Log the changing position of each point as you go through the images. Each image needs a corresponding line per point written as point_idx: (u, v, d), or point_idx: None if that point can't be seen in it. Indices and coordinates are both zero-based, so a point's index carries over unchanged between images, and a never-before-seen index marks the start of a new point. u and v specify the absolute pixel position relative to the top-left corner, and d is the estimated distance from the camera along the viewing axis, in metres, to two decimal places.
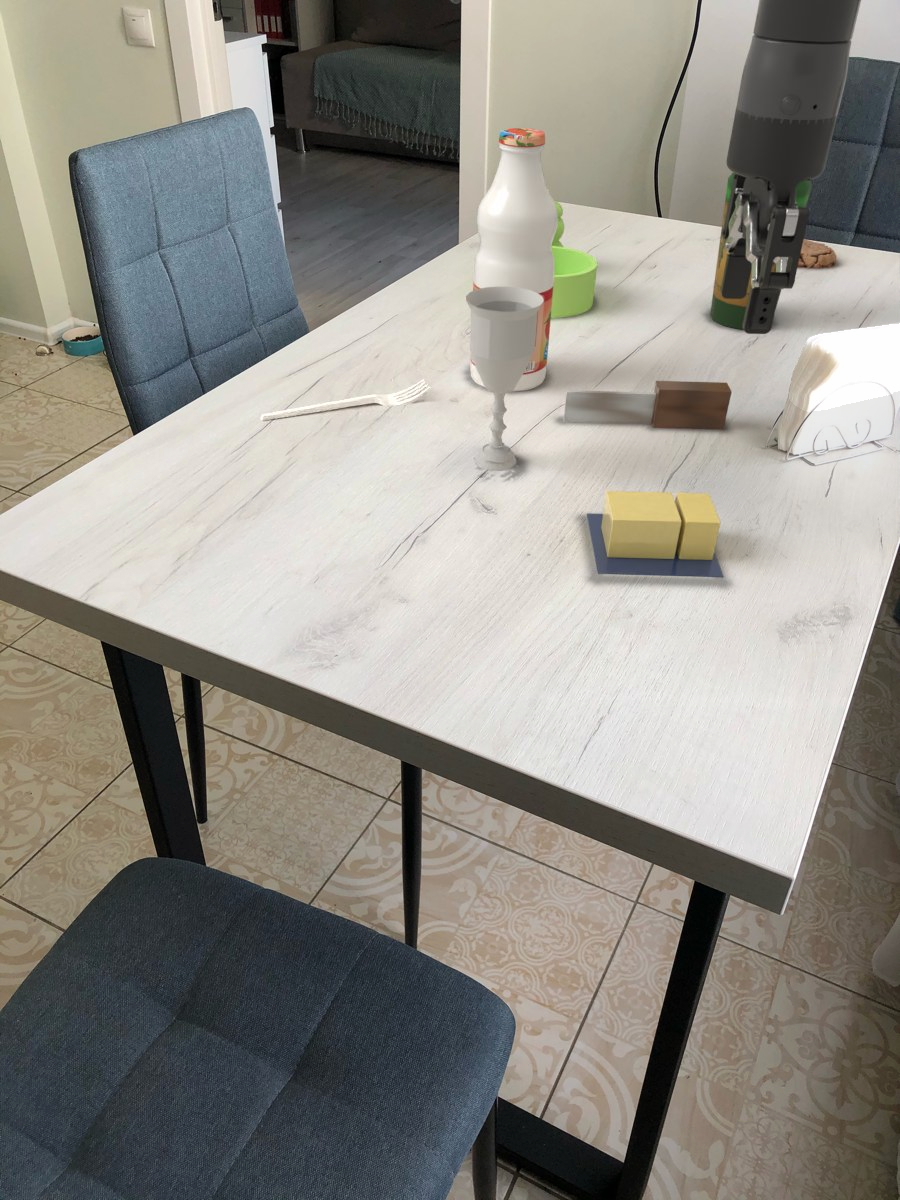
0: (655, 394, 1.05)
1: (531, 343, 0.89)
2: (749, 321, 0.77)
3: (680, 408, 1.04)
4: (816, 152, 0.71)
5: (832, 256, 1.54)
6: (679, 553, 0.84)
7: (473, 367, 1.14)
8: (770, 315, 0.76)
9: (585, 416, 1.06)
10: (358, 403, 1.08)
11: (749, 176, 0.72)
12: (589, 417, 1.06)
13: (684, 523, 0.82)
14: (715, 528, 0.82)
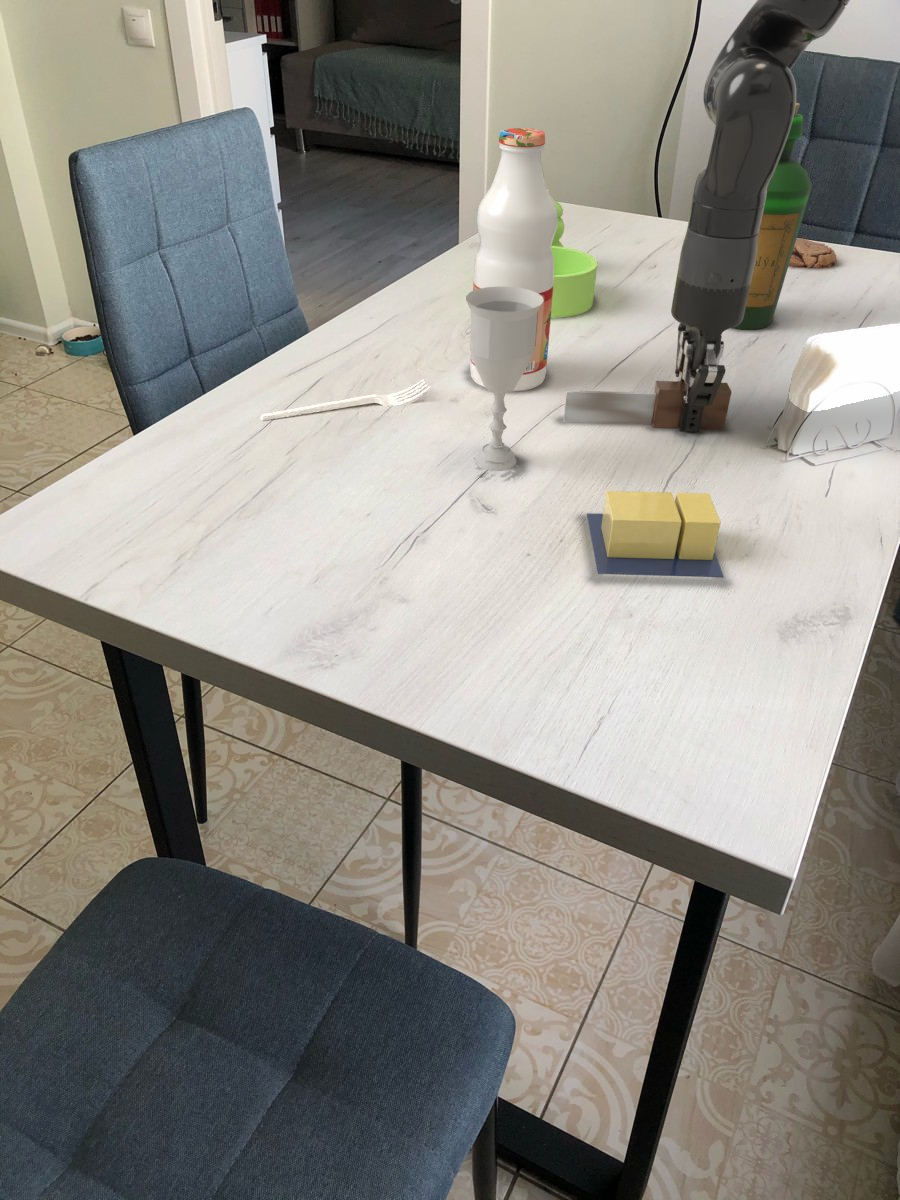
0: (655, 394, 1.05)
1: (531, 343, 0.89)
2: (682, 425, 1.05)
3: (680, 408, 1.04)
4: (735, 310, 0.96)
5: (832, 256, 1.54)
6: (679, 553, 0.84)
7: (473, 367, 1.14)
8: (697, 422, 1.04)
9: (585, 416, 1.06)
10: (358, 403, 1.08)
11: (686, 325, 0.97)
12: (589, 417, 1.06)
13: (684, 523, 0.82)
14: (715, 528, 0.82)
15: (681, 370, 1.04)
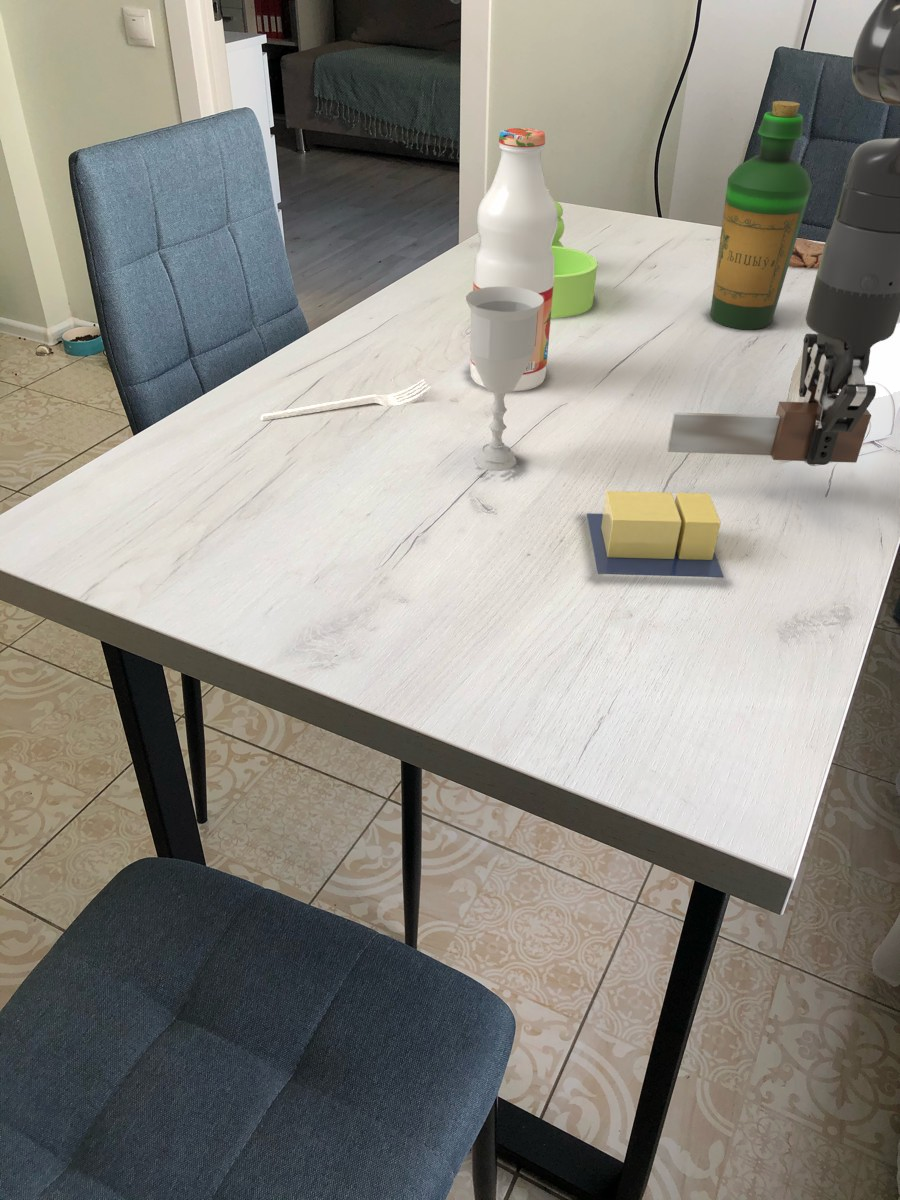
0: (779, 417, 0.89)
1: (531, 343, 0.89)
2: (811, 454, 0.89)
3: (808, 434, 0.88)
4: (889, 319, 0.80)
5: None
6: (679, 553, 0.84)
7: (473, 367, 1.14)
8: (830, 451, 0.88)
9: (694, 443, 0.90)
10: (358, 403, 1.08)
11: (828, 336, 0.81)
12: (699, 444, 0.90)
13: (684, 523, 0.82)
14: (715, 528, 0.82)
15: (811, 389, 0.88)
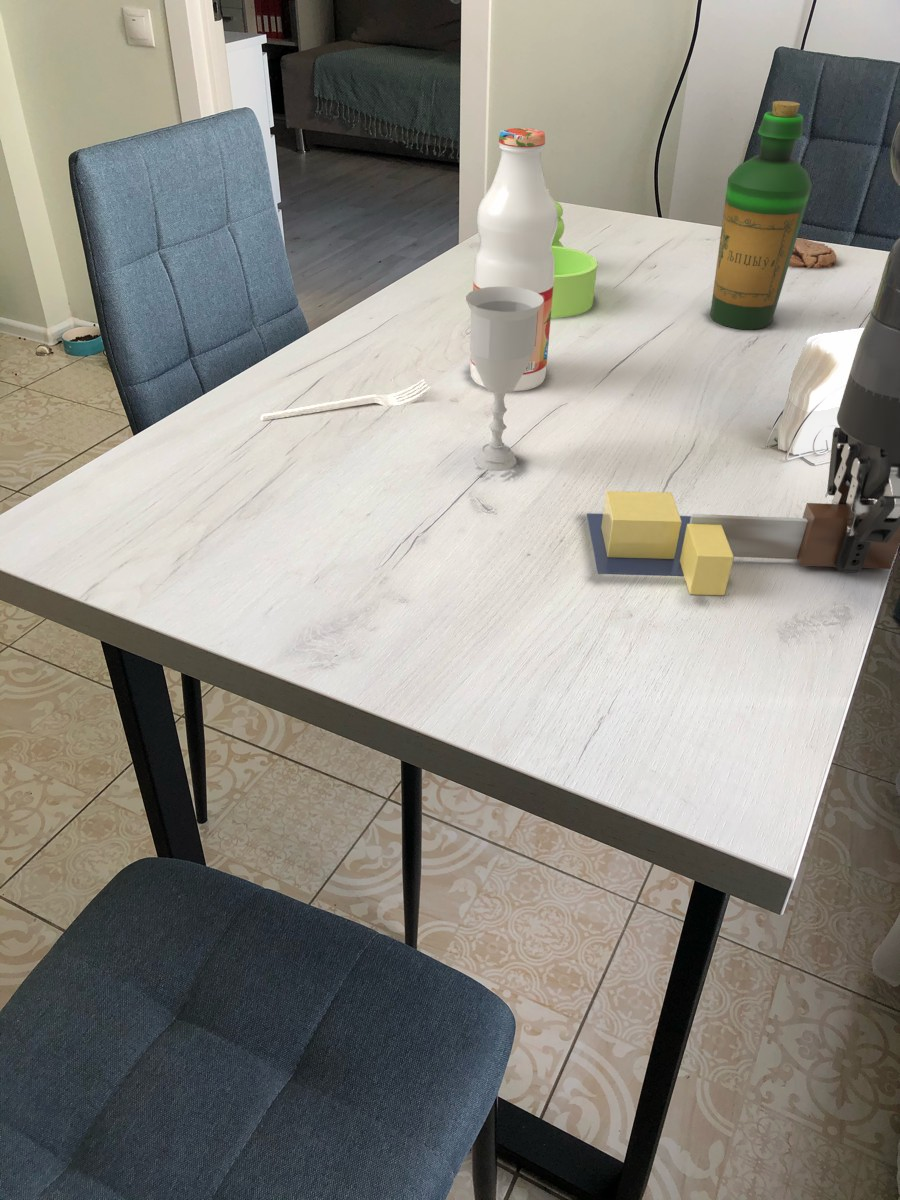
0: (807, 521, 0.81)
1: (531, 343, 0.89)
2: (841, 561, 0.81)
3: (839, 539, 0.81)
4: None
5: (832, 256, 1.54)
6: (690, 588, 0.79)
7: (473, 367, 1.14)
8: (862, 559, 0.80)
9: None
10: (358, 403, 1.08)
11: (863, 442, 0.74)
12: None
13: (695, 557, 0.78)
14: (728, 562, 0.78)
15: (841, 491, 0.80)
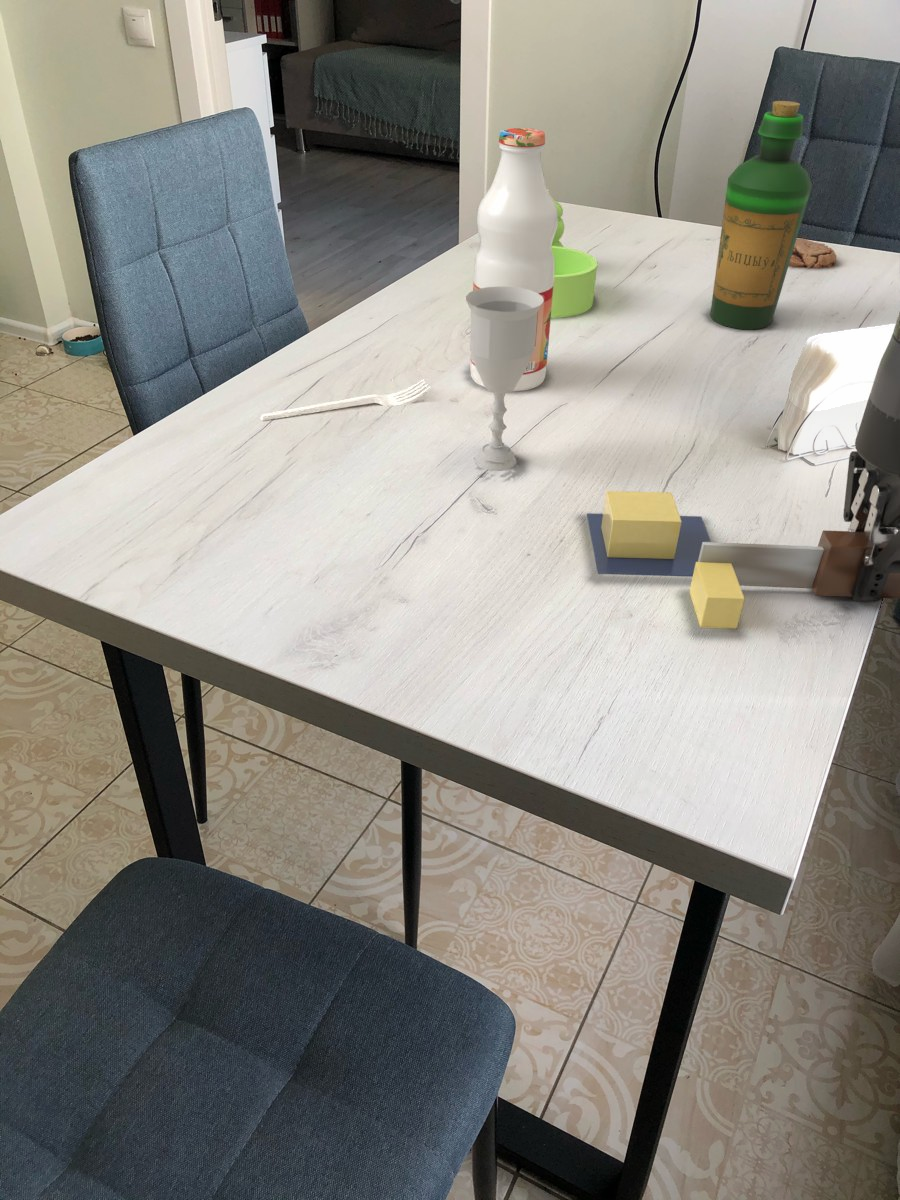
0: (823, 549, 0.77)
1: (531, 343, 0.89)
2: (858, 591, 0.78)
3: (856, 568, 0.77)
4: None
5: (832, 256, 1.54)
6: None
7: (473, 367, 1.14)
8: (881, 589, 0.77)
9: None
10: (358, 403, 1.08)
11: (883, 470, 0.70)
12: None
13: (704, 598, 0.75)
14: (738, 604, 0.75)
15: (858, 518, 0.77)
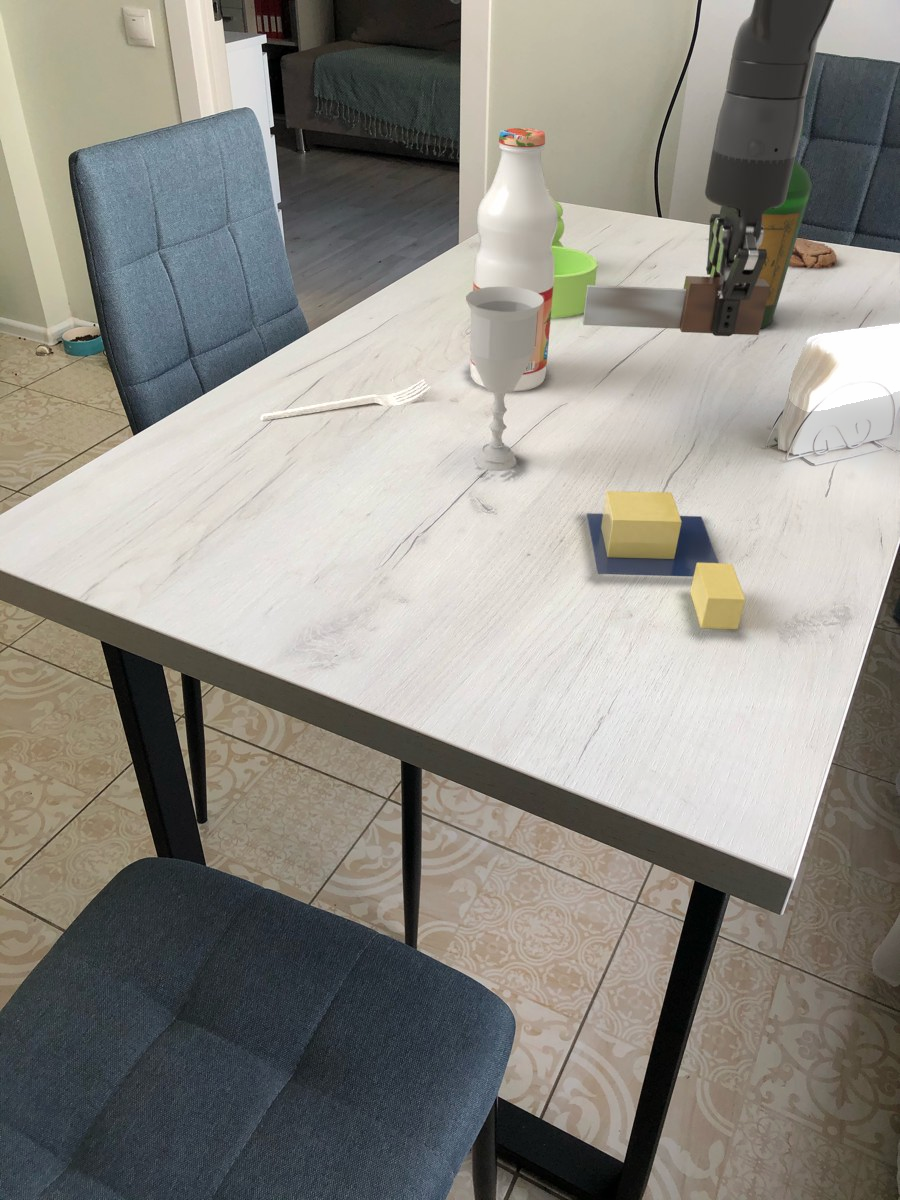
0: (685, 290, 0.95)
1: (531, 343, 0.89)
2: (716, 325, 0.95)
3: (712, 305, 0.95)
4: (778, 186, 0.86)
5: (832, 256, 1.54)
6: None
7: (473, 367, 1.14)
8: (733, 321, 0.94)
9: (607, 316, 0.96)
10: (358, 403, 1.08)
11: (723, 205, 0.88)
12: (612, 317, 0.96)
13: (705, 599, 0.75)
14: (739, 605, 0.75)
15: (714, 264, 0.94)
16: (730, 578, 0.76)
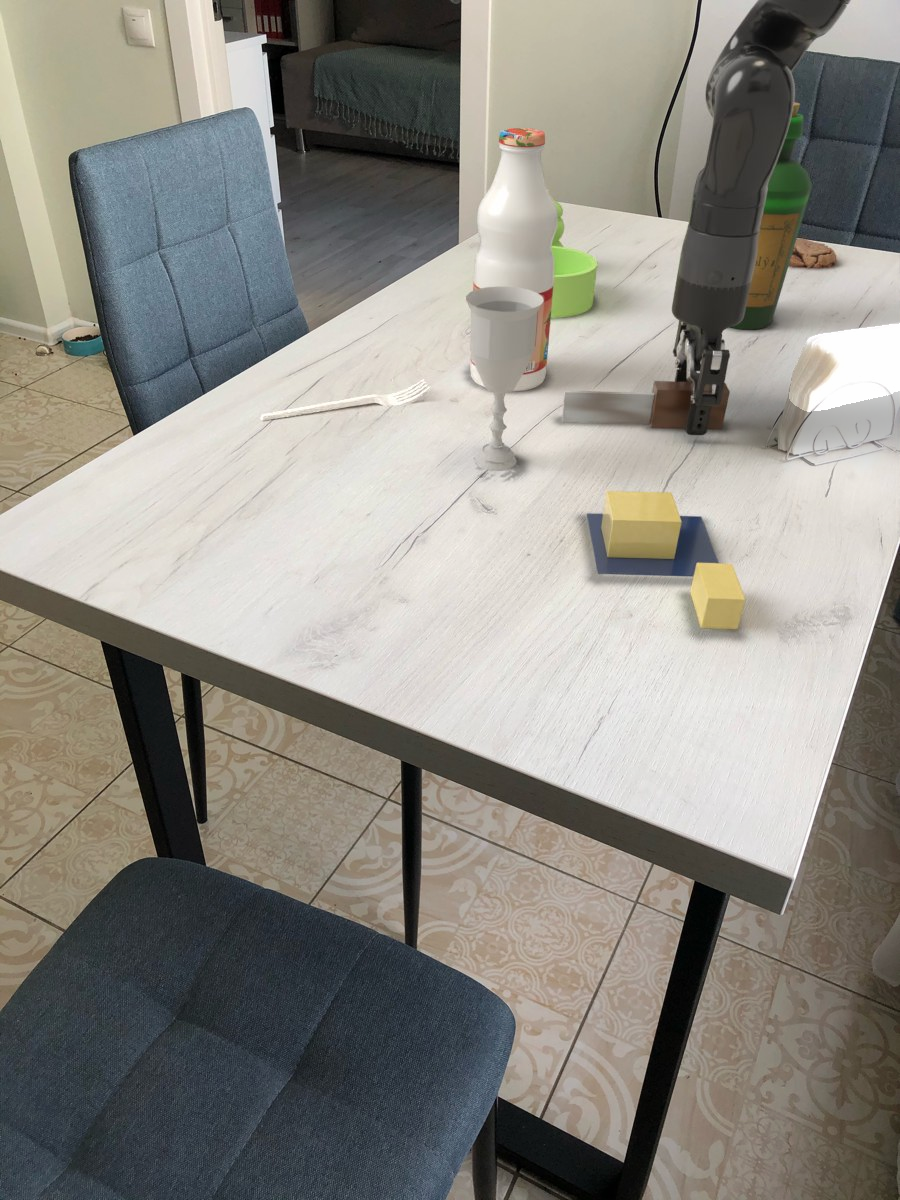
0: (653, 394, 1.05)
1: (531, 343, 0.89)
2: (690, 426, 1.02)
3: (678, 408, 1.04)
4: (736, 308, 0.96)
5: (832, 256, 1.54)
6: None
7: (473, 367, 1.14)
8: (705, 423, 1.01)
9: (583, 417, 1.06)
10: (358, 403, 1.08)
11: (687, 323, 0.97)
12: (587, 417, 1.06)
13: (705, 599, 0.75)
14: (739, 605, 0.75)
15: (679, 358, 1.05)
16: (730, 578, 0.76)
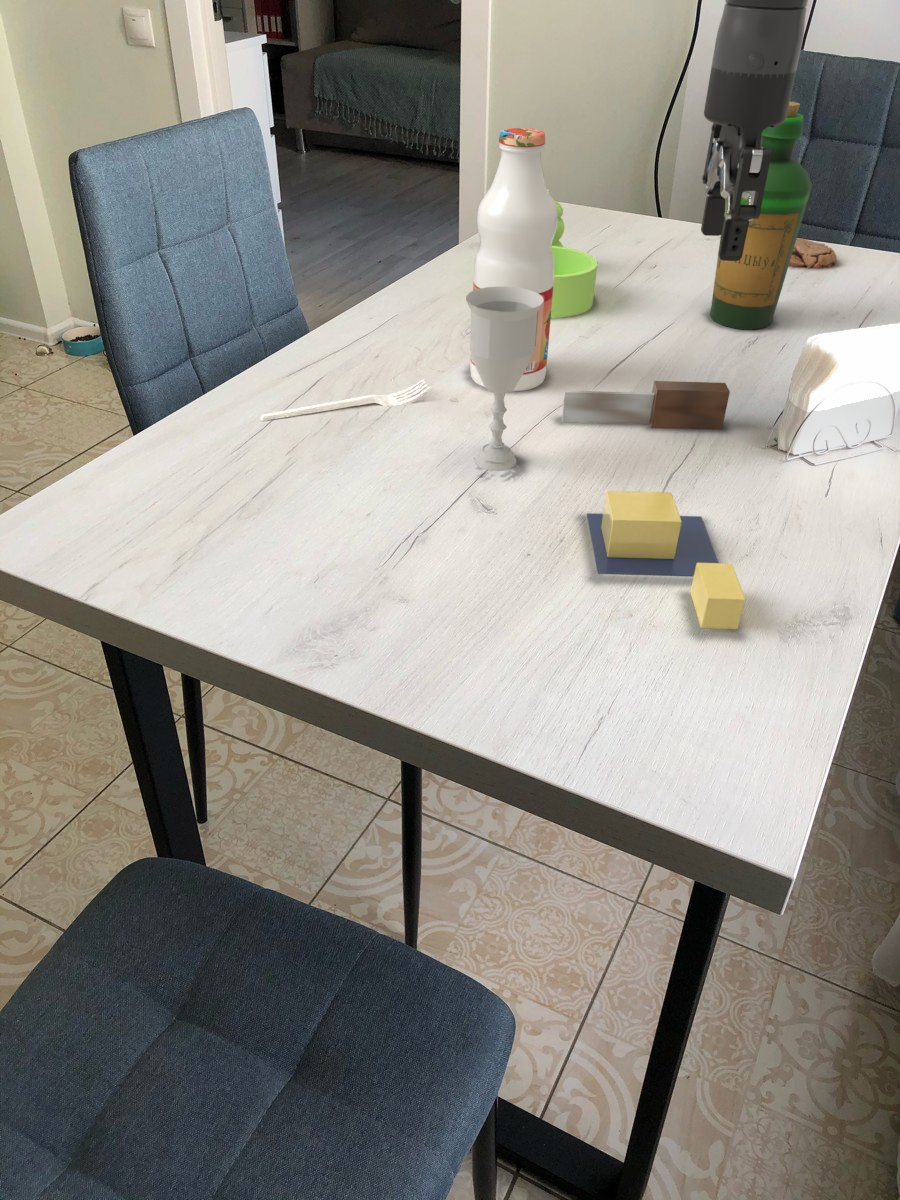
0: (653, 394, 1.05)
1: (531, 343, 0.89)
2: (723, 249, 0.91)
3: (678, 408, 1.04)
4: (778, 102, 0.84)
5: (832, 256, 1.54)
6: None
7: (473, 367, 1.14)
8: (741, 243, 0.90)
9: (583, 417, 1.06)
10: (358, 403, 1.08)
11: (722, 123, 0.86)
12: (587, 417, 1.06)
13: (705, 599, 0.75)
14: (739, 605, 0.75)
15: (710, 179, 0.94)
16: (730, 578, 0.76)
